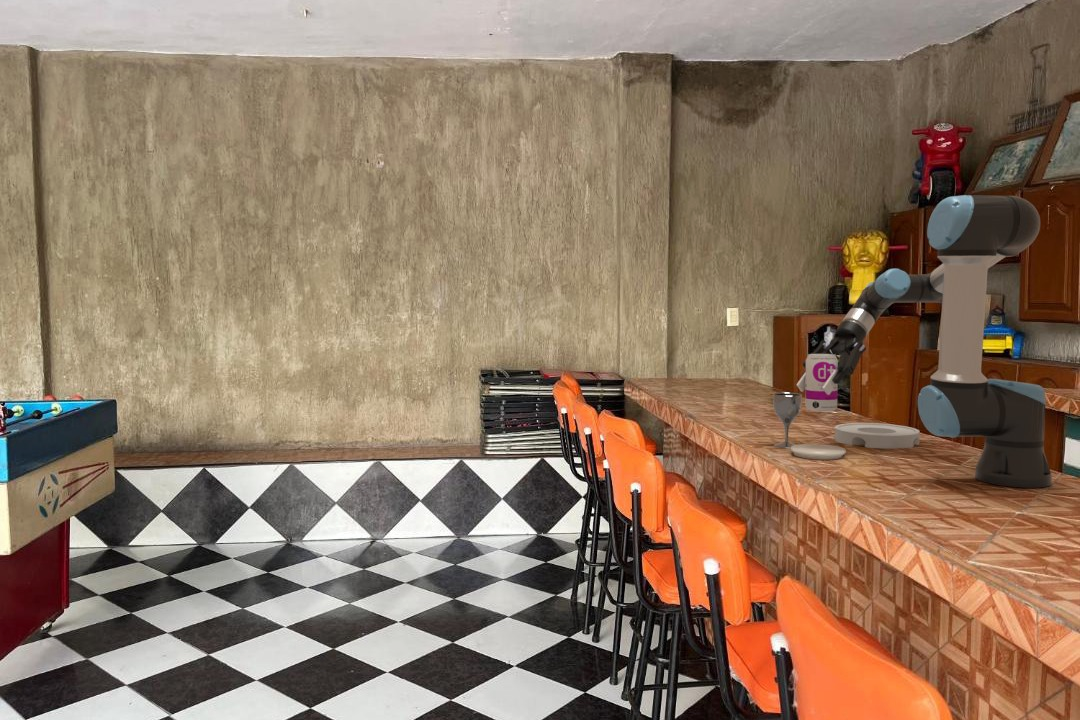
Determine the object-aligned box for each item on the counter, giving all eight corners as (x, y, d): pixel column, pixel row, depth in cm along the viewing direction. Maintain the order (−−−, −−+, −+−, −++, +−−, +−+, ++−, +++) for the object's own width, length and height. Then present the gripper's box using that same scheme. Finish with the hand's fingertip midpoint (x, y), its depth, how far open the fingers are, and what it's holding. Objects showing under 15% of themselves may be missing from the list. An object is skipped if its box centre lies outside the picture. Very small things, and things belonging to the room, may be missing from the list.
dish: (852, 460, 207) (852, 453, 207) (797, 460, 208) (798, 453, 208) (836, 450, 221) (836, 444, 221) (785, 450, 222) (785, 443, 222)
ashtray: (934, 449, 223) (934, 435, 222) (851, 449, 223) (851, 435, 223) (898, 435, 246) (899, 422, 246) (823, 435, 246) (823, 423, 246)
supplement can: (839, 412, 210) (840, 355, 209) (806, 411, 212) (807, 355, 211) (834, 408, 218) (835, 353, 217) (803, 407, 220) (804, 353, 219)
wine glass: (797, 443, 232) (798, 392, 230) (803, 448, 224) (804, 395, 223) (769, 443, 232) (770, 392, 231) (775, 448, 224) (775, 395, 223)
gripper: (893, 339, 212) (851, 402, 205) (830, 336, 230) (789, 395, 223) (880, 319, 209) (837, 383, 202) (817, 318, 227) (776, 377, 221)
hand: (812, 389), depth 213 cm, fingers closed on supplement can, 8 cm apart
